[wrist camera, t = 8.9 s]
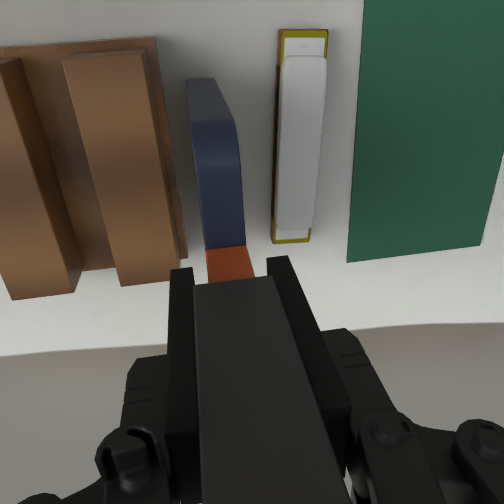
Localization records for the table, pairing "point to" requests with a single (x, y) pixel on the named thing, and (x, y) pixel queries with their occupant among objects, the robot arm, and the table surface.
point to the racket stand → (85, 166)
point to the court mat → (426, 126)
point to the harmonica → (297, 131)
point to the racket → (247, 347)
